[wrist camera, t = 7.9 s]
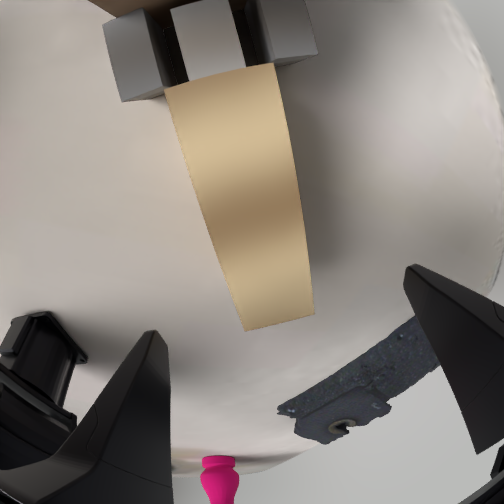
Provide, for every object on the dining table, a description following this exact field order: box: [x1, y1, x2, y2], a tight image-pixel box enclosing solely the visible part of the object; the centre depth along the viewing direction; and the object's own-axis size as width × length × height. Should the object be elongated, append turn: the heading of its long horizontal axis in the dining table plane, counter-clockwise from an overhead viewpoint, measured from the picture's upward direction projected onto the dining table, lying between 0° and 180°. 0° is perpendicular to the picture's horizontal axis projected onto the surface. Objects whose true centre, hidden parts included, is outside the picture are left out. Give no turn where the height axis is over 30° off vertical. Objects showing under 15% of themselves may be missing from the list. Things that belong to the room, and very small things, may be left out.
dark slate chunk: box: [277, 316, 440, 444], centre depth 27 cm, size 15×22×5 cm
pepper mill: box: [200, 456, 239, 504], centre depth 33 cm, size 7×7×20 cm
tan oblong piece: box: [164, 0, 315, 331], centre depth 11 cm, size 14×4×5 cm, turn 13°
